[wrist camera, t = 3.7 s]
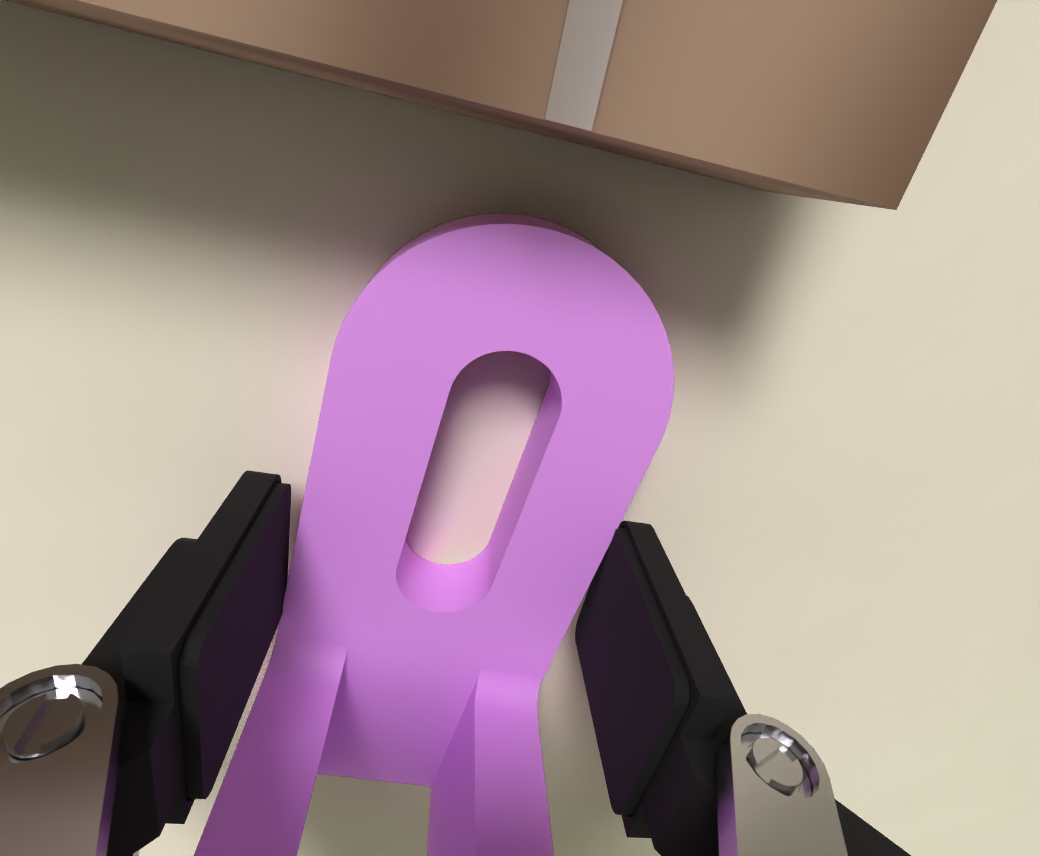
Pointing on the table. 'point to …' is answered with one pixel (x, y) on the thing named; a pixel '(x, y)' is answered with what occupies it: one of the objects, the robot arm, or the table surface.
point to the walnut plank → (629, 73)
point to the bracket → (460, 587)
